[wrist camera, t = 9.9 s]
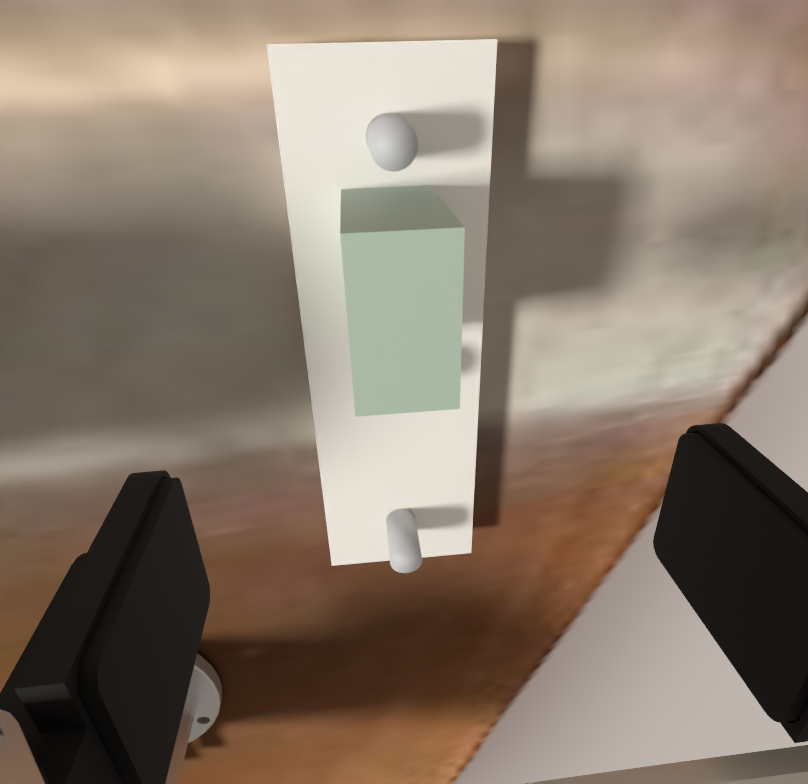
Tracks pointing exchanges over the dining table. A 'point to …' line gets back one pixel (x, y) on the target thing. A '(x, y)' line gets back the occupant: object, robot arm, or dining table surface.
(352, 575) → the dining table surface
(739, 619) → the robot arm
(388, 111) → the white peg board
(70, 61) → the dining table surface
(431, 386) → the tall sage green block
